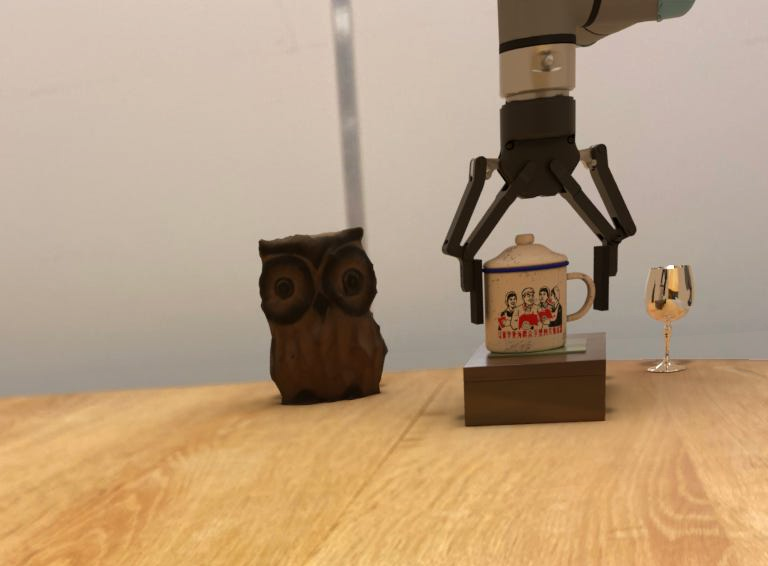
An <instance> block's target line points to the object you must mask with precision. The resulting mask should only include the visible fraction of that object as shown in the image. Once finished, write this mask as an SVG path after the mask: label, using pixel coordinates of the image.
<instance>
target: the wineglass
mask: <svg viewBox="0 0 768 566" xmlns="http://www.w3.org/2000/svg"><path fill="white" fill-rule="evenodd" d="M645 281H646V282H645V286H644V293H643V305H644V306H643V307H644V309H645V312H646V314H647V315H648V316H649V317H650V318H651V319H653V320H655V321H657V322H660V323H663V324H665V325H664V327H663V332H662V333H663V337H664V345H665V346H664V358H663V360H662V361H661V363H659V364H657V365H655V366H651V367H649V368H647V372H652V373H673V372H679V371H684V370H686V366H684V365H679V364H676V363H675V362H672V360H671V357H670V343H671V337H672V334H673V328H672V325H671V324H672V323H674V322H676V321H679V320H681V319H682V318H684V317H685V316H687V315H688V314H689V313H690V311H691V310H692V308H693V306H694V301H695V295H696V294H695V291H696V289H695V281H694V275H693V270H692V265H689V264H680V265H679V264H677V265H675V264H674V265H663V266H656V267H650V268H649V269H648V274H647V278H646V280H645Z"/></svg>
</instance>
